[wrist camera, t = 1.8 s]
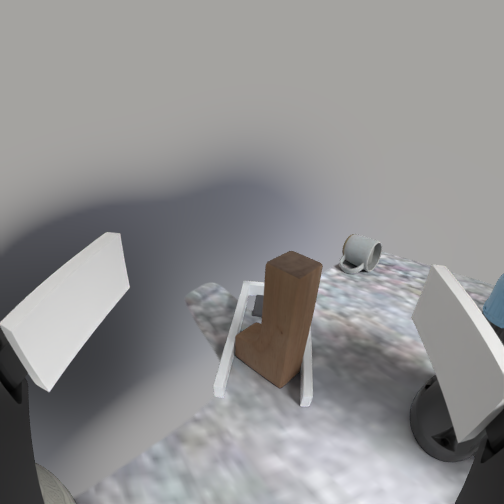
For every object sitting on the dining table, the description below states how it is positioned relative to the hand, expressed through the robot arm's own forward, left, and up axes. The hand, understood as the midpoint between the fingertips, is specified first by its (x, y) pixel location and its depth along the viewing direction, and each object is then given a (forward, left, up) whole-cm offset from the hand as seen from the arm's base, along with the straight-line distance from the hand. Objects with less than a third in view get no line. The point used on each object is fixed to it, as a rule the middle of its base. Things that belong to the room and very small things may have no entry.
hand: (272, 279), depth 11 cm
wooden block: (0, -18, -26) cm, 31 cm away
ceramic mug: (-20, -50, -26) cm, 60 cm away
